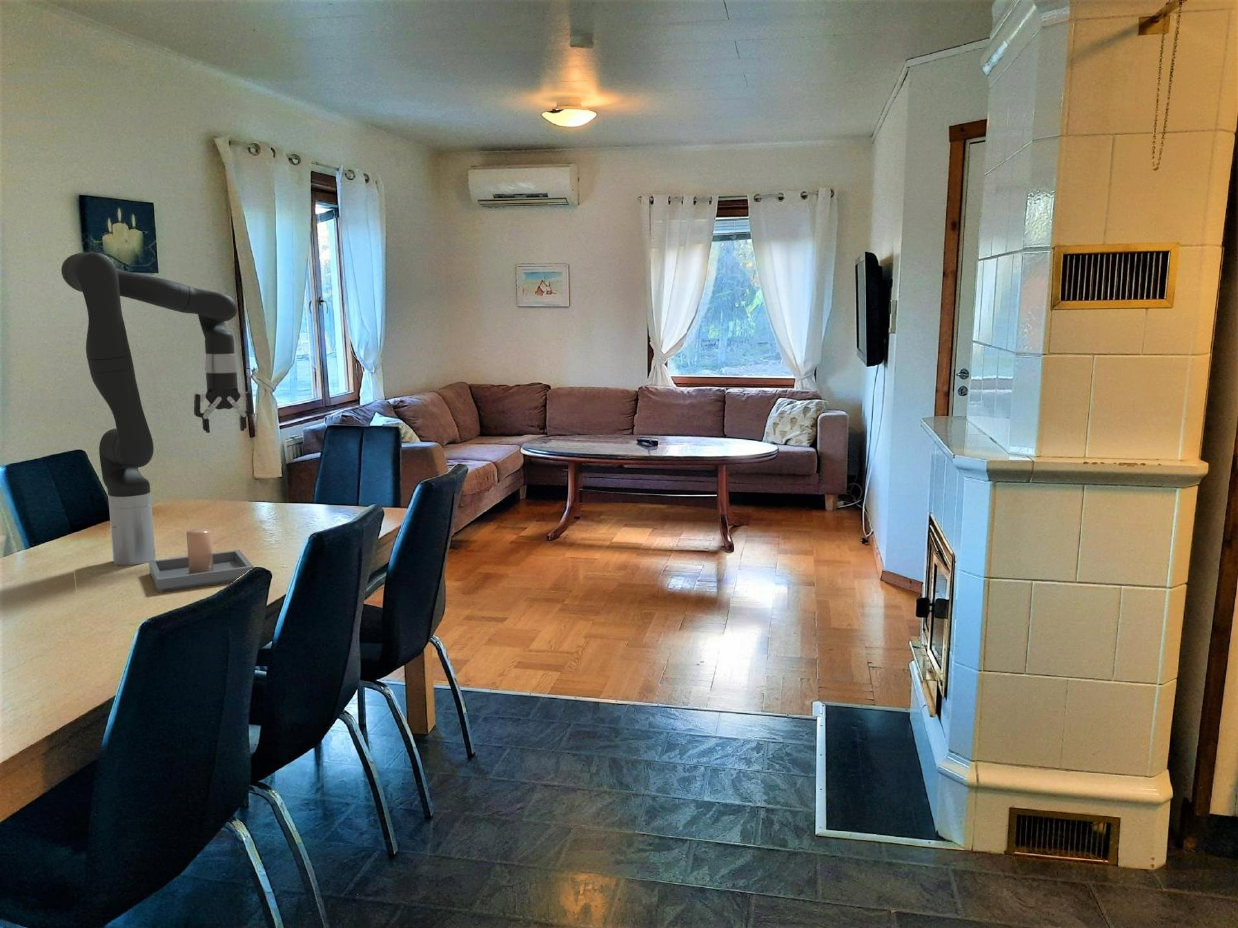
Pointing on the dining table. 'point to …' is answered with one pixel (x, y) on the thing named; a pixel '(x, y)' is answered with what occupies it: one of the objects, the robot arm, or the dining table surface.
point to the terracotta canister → (199, 550)
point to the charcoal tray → (177, 576)
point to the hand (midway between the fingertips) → (225, 431)
